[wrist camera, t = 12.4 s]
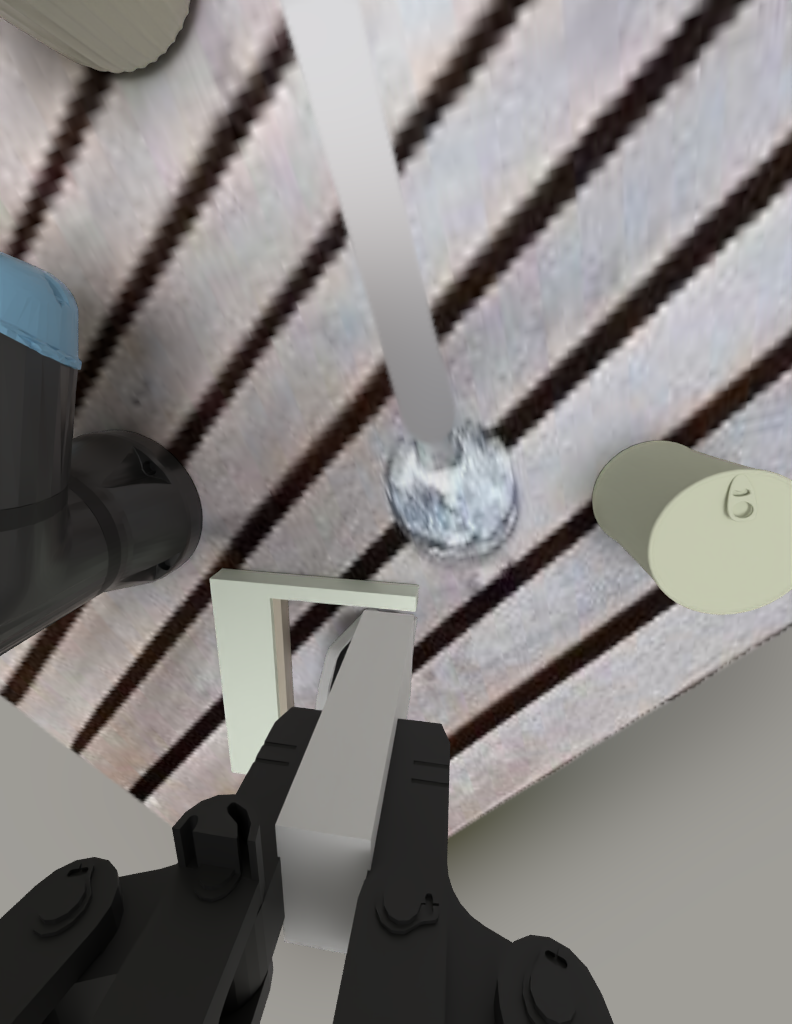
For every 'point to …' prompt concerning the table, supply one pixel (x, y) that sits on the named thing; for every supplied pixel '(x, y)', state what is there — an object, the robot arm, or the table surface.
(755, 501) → the can
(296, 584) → the beige flat angled piece
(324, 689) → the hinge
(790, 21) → the table surface
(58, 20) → the canister
